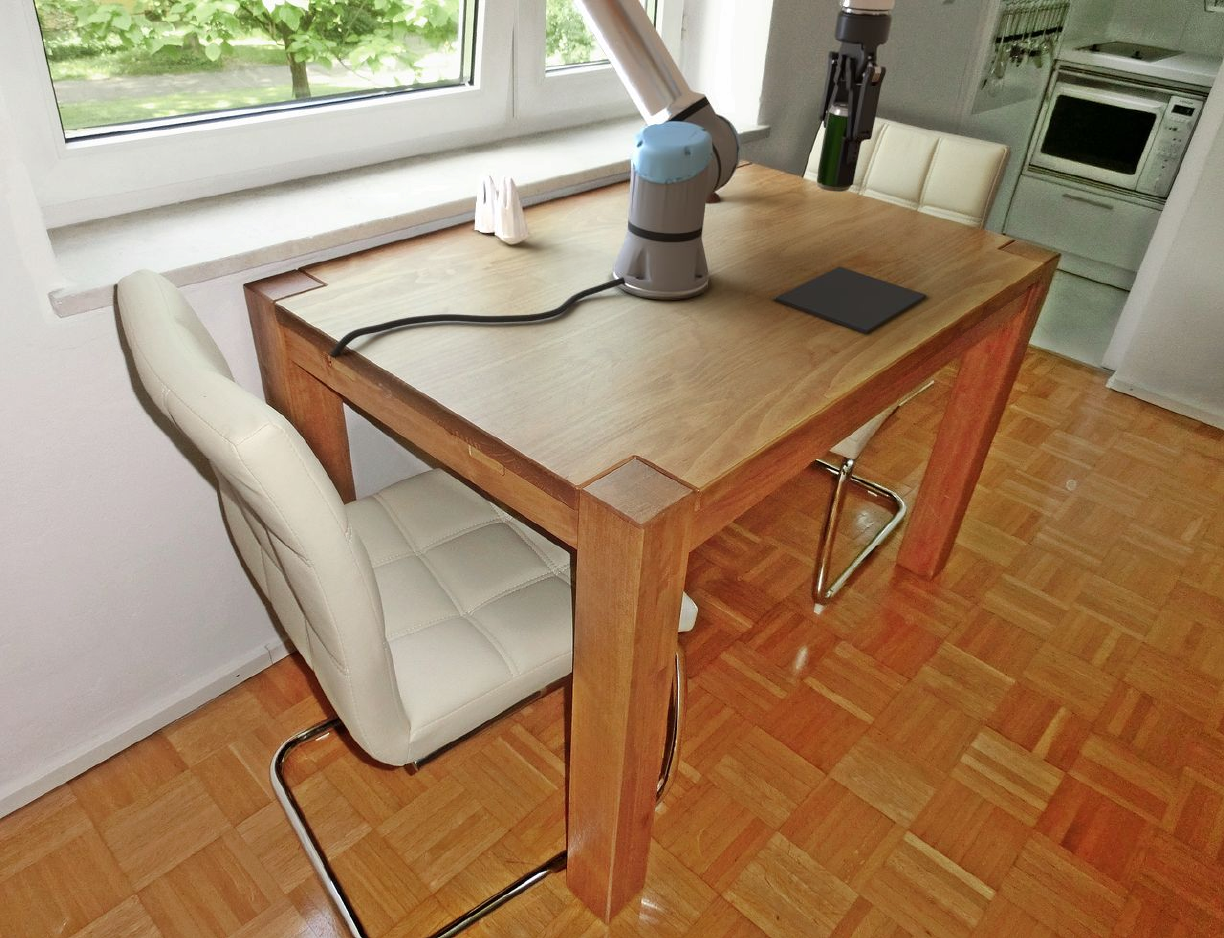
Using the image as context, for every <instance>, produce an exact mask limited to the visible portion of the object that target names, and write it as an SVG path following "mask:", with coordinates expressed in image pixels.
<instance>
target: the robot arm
mask: <svg viewBox="0 0 1224 938" xmlns="http://www.w3.org/2000/svg"><path fill="white" fill-rule="evenodd" d="M572 1H573V3H574V4H575V7H576V8H577V10H578V11H579V12H580V15H581V16H582V18H583V20H584V21H585V24H586V25H587V27H588V28H589V30H590V31H591V33H592V35H593V36H594V39H595V40H596V42H597V43H598V45H599V47H600V48H601V50H602V51H603V53H604V55H605V57H606V58H607V60H608V62H609V63H610V65H611V66H612V68H613V70H614V71H615V73H616V75H617V76H618V78H619V81H621V84H622V85H623V87H624V88H625V90H626V91H627V94H628V95H629V97H630V98H631V100H632V102H633V103H634V105H635V107H636V108H637V111H638V112H639V113H640V115H641V117H642V118H643V120H644V123H645V126H644V127H643V128H642V129H640V130H639V131H638V132H637V134H636V135H635V136H634V141H633V148H632V151H631V154H630V163H631V167H630V182H629V184H630V185H629V197H628V199H629V200H628V215H627V216H628V217H627V218H628V219H627V230H626V235H625V237H624V240H623V242H622V245H621V247H620V250H619V252H618V254H617V257H616V260H615V261H614V266H613V273H612V280H610V281H606V282H604V283H601V284H599V285H595V286H592V287H590V288H586V289H584V290H582V291H579V292H577V293H575V294H573V295H572V296H570V297H569V298H567V300H565V301H564V302H563V304H561V305H560V306H558V307H557V308H554V309H551V310H547V311H543V312H539V313H538V312H537V313H530V314H518V315H517V314H514V315H511V314H510V315H509V314H507V315H476V314H475V315H474V314H460V313H459V314H457V313H455V314H454V313H443V314H442V313H441V314H426V315H417V316H409V317H403V318H399V319H398V318H397V319H395V320H391V321H387V322H383V323H379V324H375V325H369V326H363V327H361V328H357V329H354V330H352V331H350V332H349V333H347V334H346V335H344V336H343V337H342V338H341V339H340V340H339V341H338V342H337V344H336V345H335V346H334V348H333V349H332V351H331V352H330V355H329V357H330V358H337V357H339V356H340V355H341V353H342V352H343V351H344V350H345V348H346V347H347V346H348V345H349V344H350V343H351V342H352V341H354V340H355V339H358V338H359V337H362V336H365V335H370V334H375V333H380V332H384V331H388V330H391V329H396V328H399V327H405V326H408V325H414V324H425V323H437V322H466V323H481V324H483V323H485V324H494V323H495V324H498V323H500V324H501V323H527V322H536V321H542V320H548V319H551V318H554V317H557V316H559V315H561V314H563V313H565V312H567V310H568V309H570V308H571V307H572V306H573V305H574V304H575V303H576V302H578V301H580V300H581V299H584V298H585V297H588V296H592V295H594V294H597V293H601V292H604V291H606V290H609V289H612V288H615V287H618V288H619V289H621V290H622V291H624V292H626V293H628V294H631V295H633V296H636V297H640V298H645V299H650V300H658V301H659V300H661V301H677V300H685V299H690V298H694V297H696V296H699V295H702V293H704V292H705V291H706V290H707V289H708V285H709V275H710V274H709V268H708V264H707V258H706V253H705V248H704V247H705V246H704V243H703V236H702V235H703V228H704V220H705V211H706V204H707V203H706V199H707V198H708V197H710V196H711V195H712V194H713V193H714V192H715V193H716V192H717V191H719V190H720V189H721V188H723V187H725V186H726V185H727V184H728V183H729V181H730V180H731V179H732V177H733V176H734V174H735V172H736V171H737V169H738V167H739V165H740V161H741V158H742V144H741V138H740V135H739V132H738V130H737V129H736V127H735V126H734V125H733V123H732V122H731V121H730V120H728V119H727V118H726V117H724V116H723V115H720V114H718V113H716V111H715V109H714V108H713V106H712V103H711V102H710V101H709V99H708V98H707V96H706V94H704V93H700V92H696V91H694V90H691V88H690V86H689V84H688V83H687V81H686V79H685V78H684V76H683V73H682V72H681V71H680V69H679V67H678V65H677V63H676V62H675V60H674V59H673V57H672V55H671V53H670V51H669V50H668V48H667V46H666V44H665V43H664V41H663V39H662V37H661V36H660V34H659V33H658V31H657V29H656V27H655V26H654V24H653V22H652V20H651V19H650V17H649V15H648V13H647V12H646V10H645V8H644V7H643V5H642V3H641V2H640V0H572ZM895 4H896V0H839V1H838V5H839V6H840V7H841V8H842V9H841V10H839V12H838V13H837V14H836V21H835V27H834V31H833V33H834V34H833V37H834V40H836V41H837V42H840V43H841V44H840V47H839V50H830V51H829V52H828V54H827V55H828V57H827V58H828V59H827V72H826V77H825V83H824V88H823V93H822V98H821V105H820V108H819V109H820V110H819V115H818V120H819V122H823V128H824V130H825V129H826V124H827V118H828V112H829V110H830V108H831V107H832V106H831V104H832V103H834V102H848V117H847V133H846V137H842V145H841V150H840V155H839V161H838V166H837V172H836V177H835V183H834V184H835V185H851V186H853V185H854V181H855V176H856V170H857V166H858V161H859V155H860V150H861V145H862V143H863V142H865V141H867V140H872V136H873V132H874V127H875V121H876V116H877V111H878V110H877V109H878V104H879V98H880V94H881V88H882V84H883V82H884V80H885V79H884V78H885V76H886V73H887V68H886V66H879V65H878V63H877V61H878V48H879V46H880V45H881V46H882V45H884V44H886V43H887V42H888V40H889V35H890V30H891V27H892V26H891V25H892V21H893V17H892V15H891V14H890V13H889V12H891V11H892V10H893V9H895ZM824 135H825V132H824V134H823V136H824ZM823 141H824V138H823V139H822V142H823ZM822 147H823V144H822V145H821V148H822ZM820 150H821V151H820V154H821V153H822V149H820ZM820 158H821V155H820V157H819V159H820ZM819 164H820V161H819V162H818V165H819ZM818 170H819V167H817V171H818Z"/></svg>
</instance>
